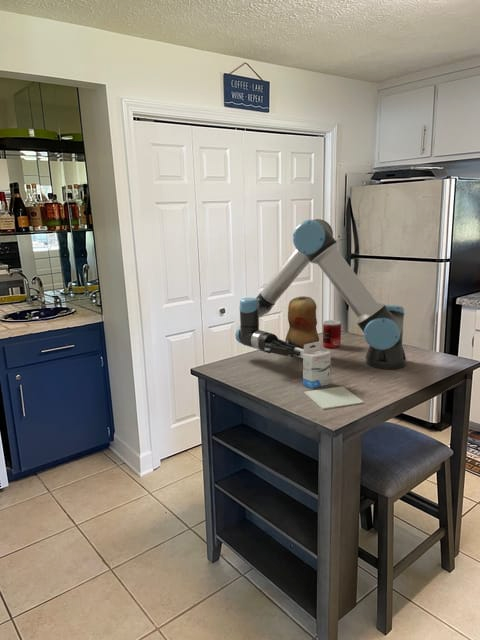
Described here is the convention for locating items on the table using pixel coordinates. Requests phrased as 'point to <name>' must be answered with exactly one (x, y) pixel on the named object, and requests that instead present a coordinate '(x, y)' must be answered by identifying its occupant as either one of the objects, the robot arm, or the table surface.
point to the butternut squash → (302, 321)
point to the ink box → (316, 366)
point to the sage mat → (333, 397)
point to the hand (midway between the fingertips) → (308, 355)
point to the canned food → (331, 334)
